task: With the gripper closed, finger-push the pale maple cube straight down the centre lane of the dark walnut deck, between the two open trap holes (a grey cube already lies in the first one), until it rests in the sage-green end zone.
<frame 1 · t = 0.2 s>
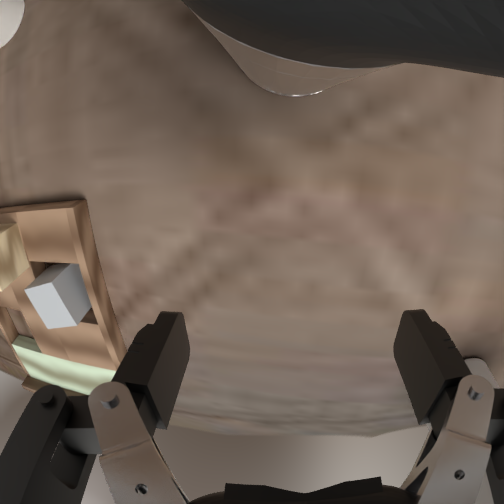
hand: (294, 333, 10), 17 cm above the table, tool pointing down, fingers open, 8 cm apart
maple cube: (9, 245, 27), point 2 cm above the table, touching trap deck
trapped grey cube: (73, 281, 32), resting in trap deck
cylindrical container: (6, 21, 17), on the table
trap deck: (46, 309, 34), on the table
cylinder vase: (452, 382, 37), on the table
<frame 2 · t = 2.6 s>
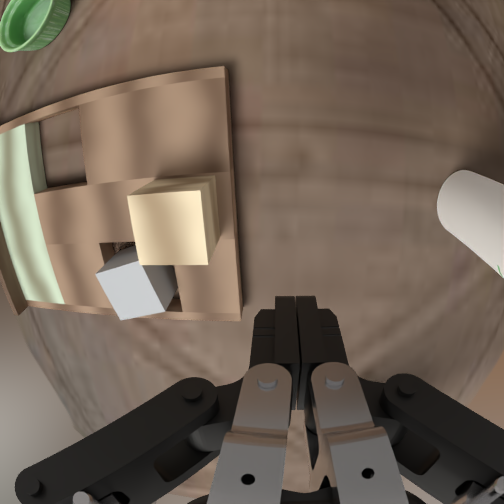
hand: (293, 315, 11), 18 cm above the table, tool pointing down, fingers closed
ramekin: (47, 20, 20), on the table
maple cube: (186, 208, 26), point 2 cm above the table, touching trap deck
trapped grey cube: (149, 266, 32), resting in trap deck
cylindrical container: (462, 202, 26), on the table
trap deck: (97, 207, 29), on the table
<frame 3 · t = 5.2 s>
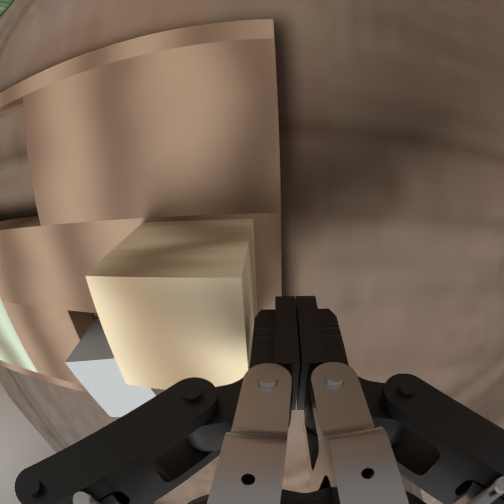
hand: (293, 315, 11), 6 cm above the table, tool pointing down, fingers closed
maple cube: (201, 272, 15), point 3 cm above the table, touching gripper
trapped grey cube: (144, 337, 21), resting in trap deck
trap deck: (63, 254, 18), on the table
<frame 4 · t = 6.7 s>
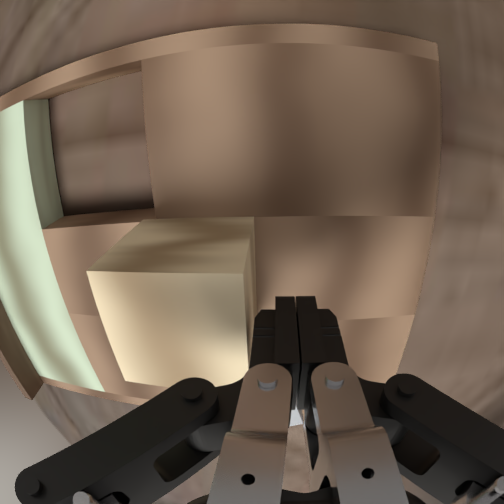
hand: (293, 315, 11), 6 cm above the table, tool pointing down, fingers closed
maple cube: (201, 269, 15), point 2 cm above the table, touching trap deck
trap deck: (163, 255, 18), on the table
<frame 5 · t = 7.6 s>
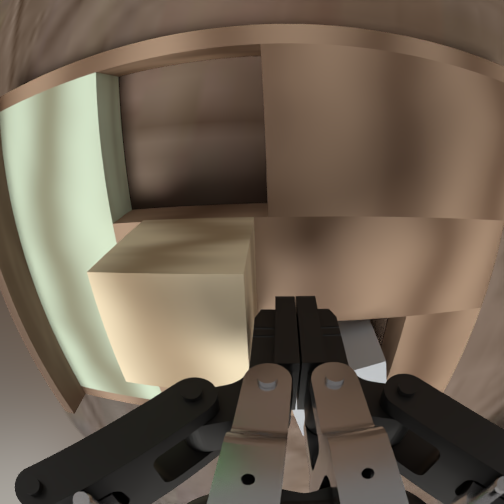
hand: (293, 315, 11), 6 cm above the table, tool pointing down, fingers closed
maple cube: (201, 270, 15), point 3 cm above the table, touching gripper, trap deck
trapped grey cube: (329, 343, 20), resting in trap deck
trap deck: (252, 254, 18), on the table
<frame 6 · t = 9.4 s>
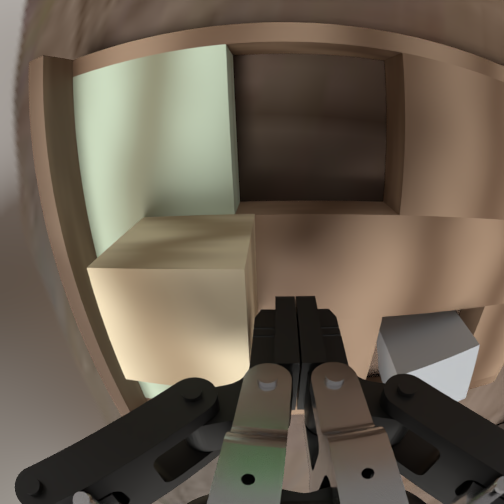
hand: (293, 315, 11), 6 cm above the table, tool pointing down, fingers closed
maple cube: (201, 267, 15), point 2 cm above the table, touching gripper, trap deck
trapped grey cube: (410, 335, 20), resting in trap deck
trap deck: (362, 250, 17), on the table
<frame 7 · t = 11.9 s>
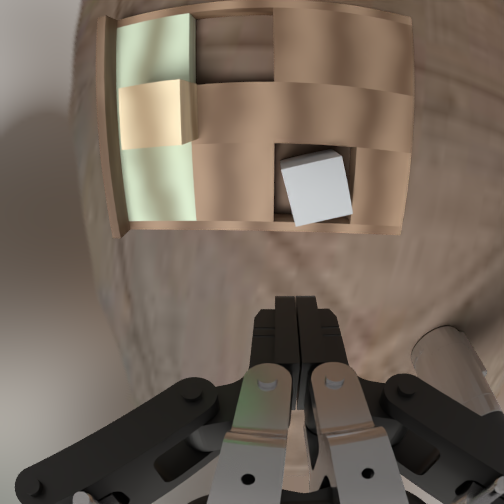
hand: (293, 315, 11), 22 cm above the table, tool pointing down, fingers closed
maple cube: (170, 113, 27), point 2 cm above the table, touching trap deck
trapped grey cube: (311, 178, 31), resting in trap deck
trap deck: (264, 112, 28), on the table
cylinder vase: (200, 435, 56), on the table
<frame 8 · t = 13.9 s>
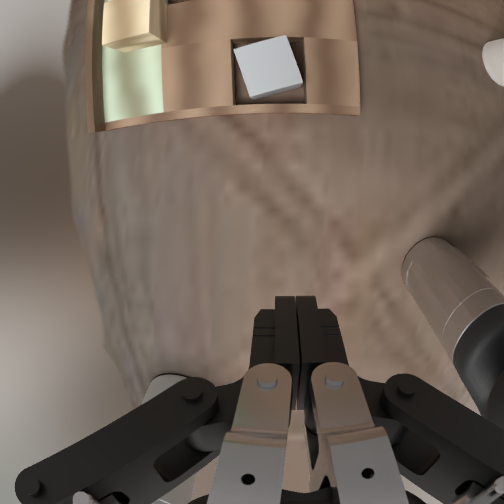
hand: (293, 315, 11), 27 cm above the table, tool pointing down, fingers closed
maple cube: (145, 28, 26), point 2 cm above the table, touching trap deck
trapped grey cube: (268, 73, 31), resting in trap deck
cylindrical container: (498, 63, 25), on the table
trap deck: (224, 23, 28), on the table
cylinder vase: (180, 392, 54), on the table
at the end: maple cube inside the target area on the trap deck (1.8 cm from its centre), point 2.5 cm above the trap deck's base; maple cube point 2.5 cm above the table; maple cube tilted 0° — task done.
